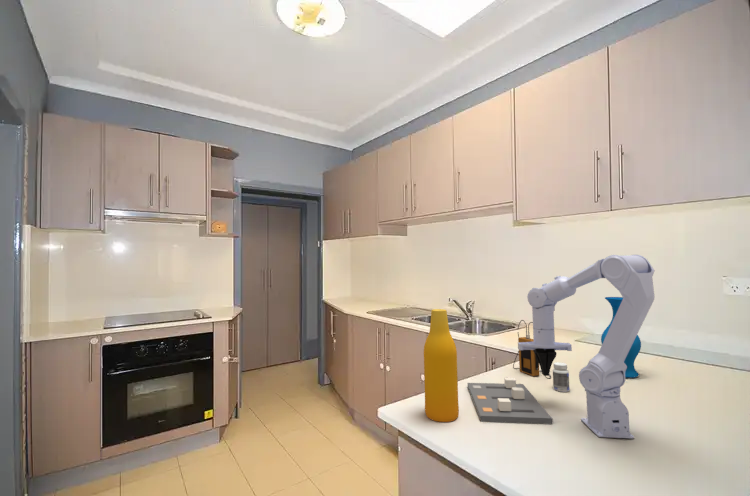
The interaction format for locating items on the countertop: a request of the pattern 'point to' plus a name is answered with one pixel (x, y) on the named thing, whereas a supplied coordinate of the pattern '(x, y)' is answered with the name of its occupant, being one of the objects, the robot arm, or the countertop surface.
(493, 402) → the switch board
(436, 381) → the beer bottle
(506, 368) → the countertop surface
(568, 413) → the countertop surface
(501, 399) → the white block
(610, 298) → the vase
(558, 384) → the pill bottle
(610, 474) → the countertop surface
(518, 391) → the middle tab
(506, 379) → the block
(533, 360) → the multimeter
